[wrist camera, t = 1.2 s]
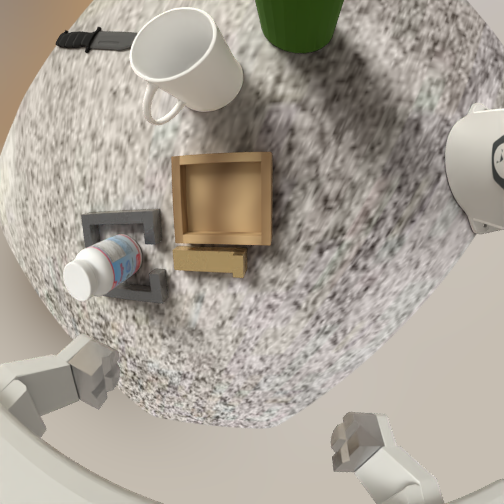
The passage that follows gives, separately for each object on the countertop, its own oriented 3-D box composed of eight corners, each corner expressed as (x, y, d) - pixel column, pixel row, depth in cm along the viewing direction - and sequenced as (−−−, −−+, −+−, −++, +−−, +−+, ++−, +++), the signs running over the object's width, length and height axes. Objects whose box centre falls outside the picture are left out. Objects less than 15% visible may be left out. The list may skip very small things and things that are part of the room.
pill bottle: (132, 281, 37) (86, 317, 26) (104, 254, 36) (54, 282, 26) (151, 252, 35) (103, 284, 24) (120, 224, 34) (66, 245, 24)
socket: (159, 208, 33) (152, 211, 31) (168, 297, 37) (162, 303, 35) (89, 212, 35) (81, 214, 33) (101, 289, 38) (94, 294, 36)
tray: (272, 153, 29) (270, 151, 27) (272, 238, 32) (270, 245, 29) (181, 157, 31) (171, 156, 28) (184, 237, 34) (175, 243, 31)
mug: (199, 146, 30) (153, 135, 19) (150, 114, 30) (92, 95, 18) (257, 70, 27) (241, 22, 15) (203, 43, 26) (167, -4, 15)
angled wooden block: (247, 247, 33) (242, 255, 30) (247, 268, 34) (243, 277, 31) (178, 246, 34) (167, 253, 31) (179, 265, 35) (170, 273, 32)
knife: (168, 29, 25) (152, 58, 26) (173, 33, 26) (157, 62, 28) (63, 28, 25) (51, 51, 26) (68, 30, 26) (56, 53, 28)
